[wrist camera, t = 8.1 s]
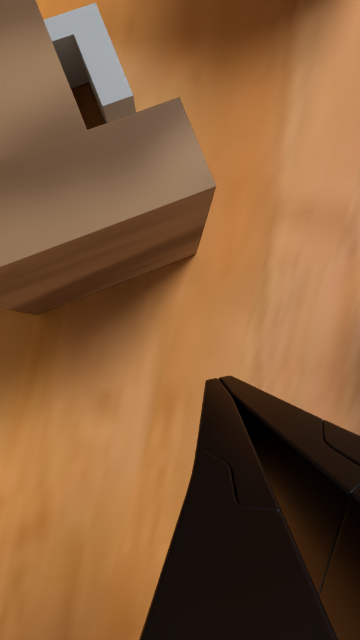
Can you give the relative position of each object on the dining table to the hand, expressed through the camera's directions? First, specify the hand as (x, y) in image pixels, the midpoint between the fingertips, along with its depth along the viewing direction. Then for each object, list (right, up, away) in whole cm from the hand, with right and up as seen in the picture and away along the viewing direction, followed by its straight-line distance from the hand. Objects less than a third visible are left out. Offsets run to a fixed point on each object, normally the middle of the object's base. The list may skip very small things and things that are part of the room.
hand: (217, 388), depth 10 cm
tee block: (-8, +11, +12) cm, 18 cm away
